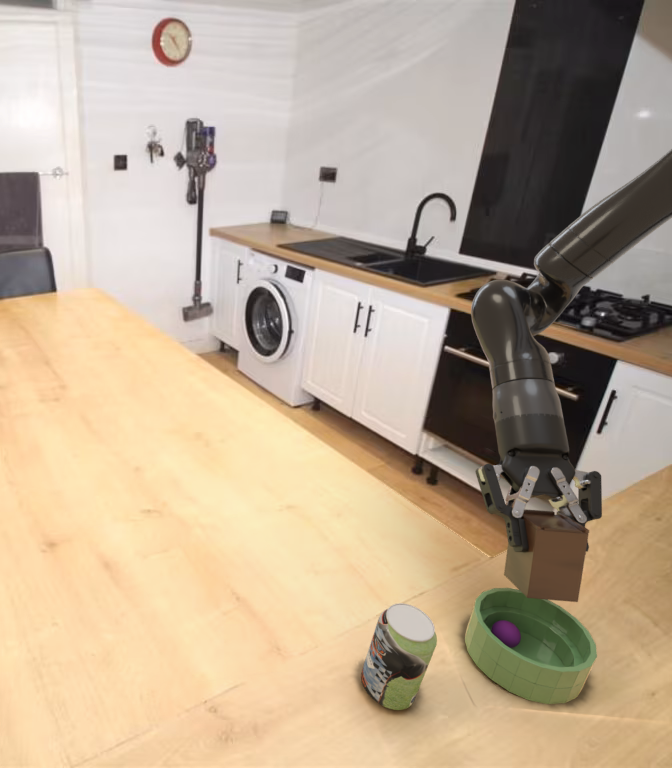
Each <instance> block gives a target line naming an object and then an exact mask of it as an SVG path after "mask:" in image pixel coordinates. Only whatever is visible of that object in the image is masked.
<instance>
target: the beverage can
mask: <svg viewBox="0 0 672 768" xmlns="http://www.w3.org/2000/svg"><path fill="white" fill-rule="evenodd" d="M437 643H438V638H437V633H436V628H435V624H434V622H433V620H432V619H431V618H430V616H429V615H428V614H427V613H425V612H424V611H423V610H422V609H420V608H419V607H416V606H414V605H412V604H409V603H401V602H399V603H394V604H392V605H390V606H389V607H388V608H386V609H384V610H383V611H382V612H381V613H380V615H379V616H378V619H377V623H376V625H375V628H374V631H373V635H372V637H371V641H370V644H369V648H368V650H367V654H366V657H365V659H364V663H363V666H362V669H361V673H360V680H361V681H360V682H361V684H362V688H363V689H364V691H365V692H366V693H367V695H368V696H369V697H370V698H371V699H372V700H373V701H374V702H375V703H377V704H378V705H380V706H382V707H384V708H386V709H389V710H393V711H403V710H407V709H408V708H410V707H411V706H412V705H413V704H414V702H415V700H416V698H417V695H418V692H419V689H420V687H421V685H422V682H423V679H424V678H425V675H426V672H427V670H428V668H429V665H430V663H431V660H432V658H433V655H434V652H435V650H436V647H437Z"/></svg>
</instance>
